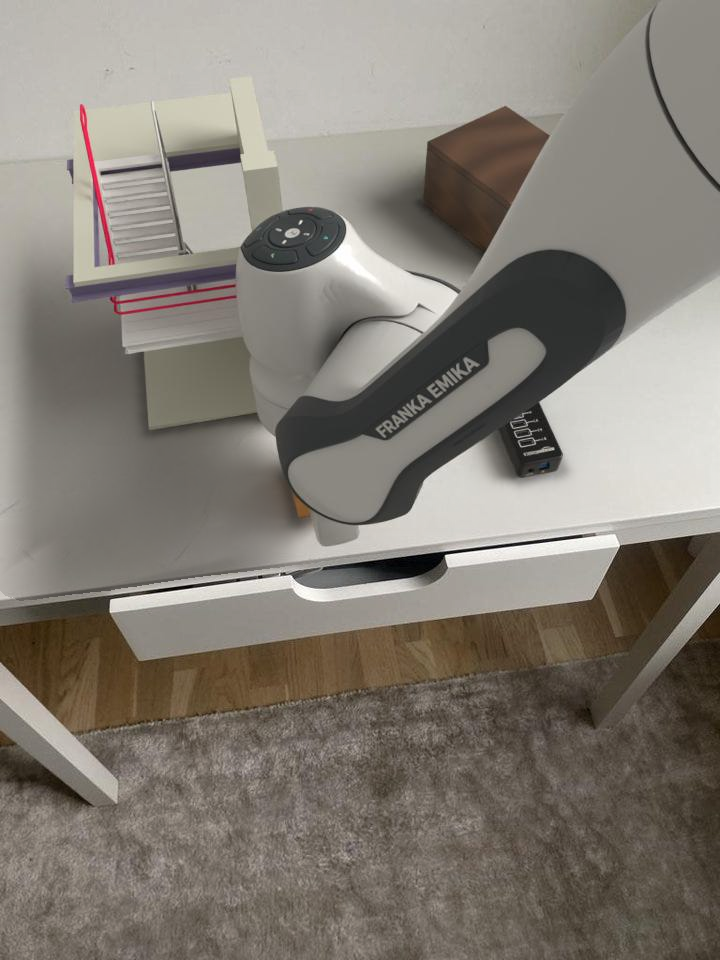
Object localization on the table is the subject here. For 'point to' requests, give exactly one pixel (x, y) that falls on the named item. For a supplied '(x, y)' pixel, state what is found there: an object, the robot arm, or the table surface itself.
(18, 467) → the table surface
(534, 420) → the multiport hub
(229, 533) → the table surface
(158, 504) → the table surface
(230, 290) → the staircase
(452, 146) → the cabinet
